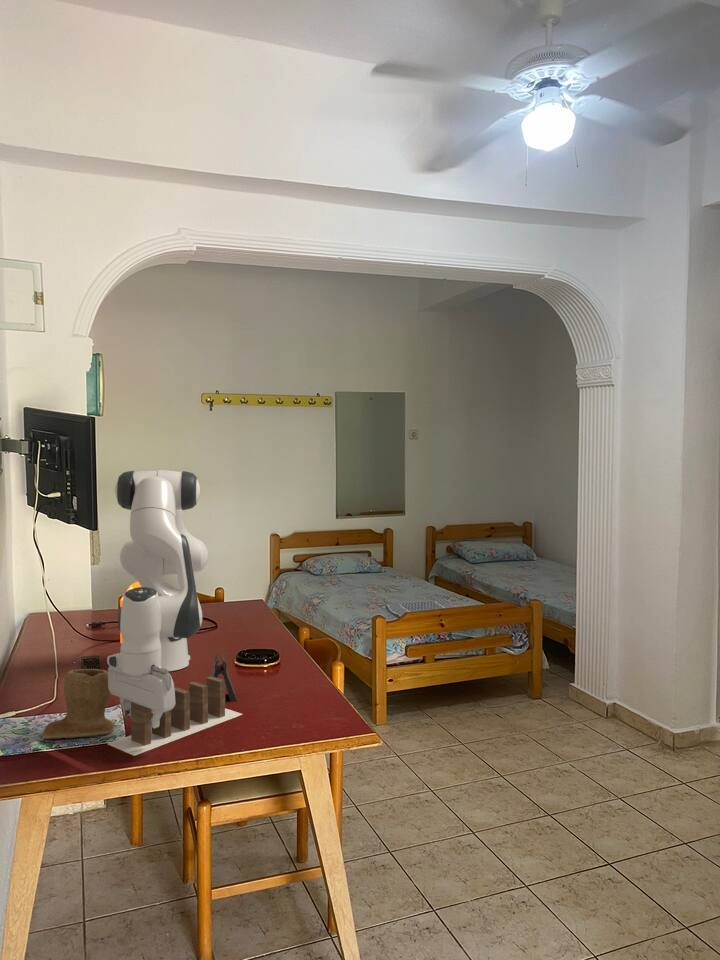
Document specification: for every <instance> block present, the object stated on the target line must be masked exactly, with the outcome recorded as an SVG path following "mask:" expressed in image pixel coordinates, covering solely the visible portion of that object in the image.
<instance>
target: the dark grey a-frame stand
mask: <svg viewBox="0 0 720 960" xmlns="http://www.w3.org/2000/svg"><path fill="white" fill-rule="evenodd" d="M220 659H221V662H222V663H221V664H218V663H219V662H220V660H219V655H218V654H216V655H215V656H214V657H213V666H212V669H211V673H210V676H213V677H216V678H219V675H223V680H225V688H226V691H227V694H228V698H229V701H230V703H231V702H233V703H234V702H237V701H238V699H237V696H236V693H235V690H234V688H233V687H234V686H233V685H232V682H231V679H230V676H229V674H228V671H227V662H226V659H225V656H224V655H223V654H220ZM210 676H209V677H210Z"/></svg>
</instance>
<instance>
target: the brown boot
mask: <svg viewBox="0 0 720 960" xmlns="http://www.w3.org/2000/svg"><path fill="white" fill-rule="evenodd" d="M63 692H64V698H65V700H64V701H65V705H66V714H65V717H64V718H62V719H59V720H54V721H51V722H50V723H47V724H46V726H45V727H44V729H43V731H42V740H61V738H65V739H76V737H80V738H90V737H89V736H92V737H100V736H105V735H104V734H106V735H109V734H110V732H111V733H112V732H113V731H114V729H115V723H114V722H113V721H112V720H110V719H108V718H106V717H105V716H106V713H105V712H106V707H107V704H108V702H109V699H110V695H111V693H110V691H109V689H108V670H106V669H105V670H104V669H99V668H83V669H72V670H69V671H68V672H67V673H66V676H65V679H64V684H63ZM108 733H109V734H108ZM99 735H100V736H99Z"/></svg>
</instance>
